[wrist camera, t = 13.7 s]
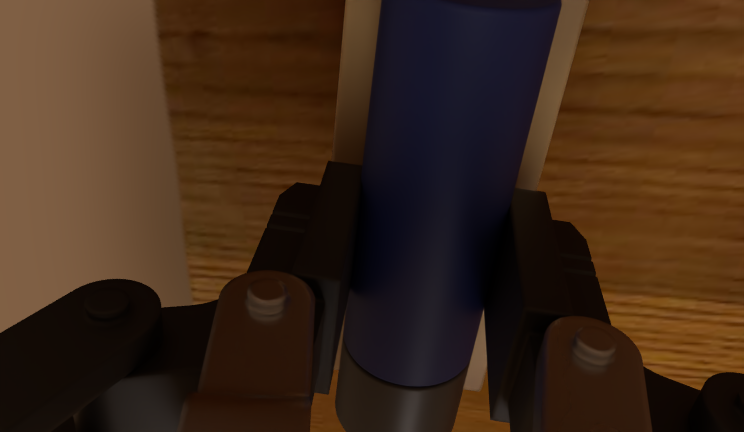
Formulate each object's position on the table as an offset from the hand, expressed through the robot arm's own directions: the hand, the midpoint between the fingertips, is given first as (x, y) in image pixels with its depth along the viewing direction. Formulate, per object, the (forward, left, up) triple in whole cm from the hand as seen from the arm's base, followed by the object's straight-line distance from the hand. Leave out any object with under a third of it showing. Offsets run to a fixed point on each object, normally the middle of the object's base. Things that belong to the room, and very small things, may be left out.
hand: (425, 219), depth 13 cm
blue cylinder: (0, 0, -1) cm, 1 cm away
